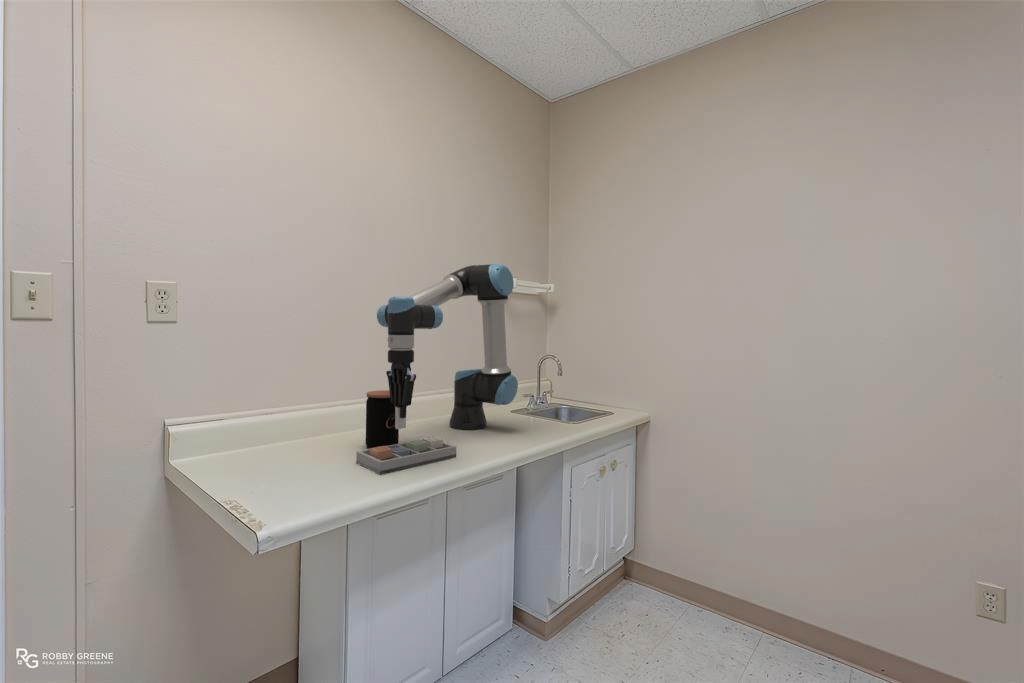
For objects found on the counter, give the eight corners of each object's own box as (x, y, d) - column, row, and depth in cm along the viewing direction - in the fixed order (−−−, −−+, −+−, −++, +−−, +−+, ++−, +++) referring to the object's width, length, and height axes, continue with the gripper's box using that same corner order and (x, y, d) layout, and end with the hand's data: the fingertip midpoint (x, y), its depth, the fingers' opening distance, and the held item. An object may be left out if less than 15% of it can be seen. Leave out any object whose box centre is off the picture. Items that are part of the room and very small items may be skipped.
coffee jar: (389, 451, 147) (390, 395, 147) (359, 448, 149) (360, 393, 149) (403, 443, 158) (404, 391, 157) (375, 440, 160) (376, 389, 159)
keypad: (430, 447, 153) (430, 437, 153) (456, 457, 143) (456, 446, 143) (356, 462, 134) (356, 451, 134) (380, 474, 125) (380, 462, 124)
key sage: (418, 446, 144) (418, 438, 144) (427, 450, 141) (427, 441, 141) (405, 449, 141) (405, 441, 141) (414, 452, 137) (414, 444, 137)
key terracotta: (384, 453, 136) (384, 445, 135) (392, 457, 132) (392, 448, 132) (369, 456, 132) (369, 447, 132) (377, 460, 129) (377, 451, 129)
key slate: (401, 454, 140) (401, 446, 140) (410, 457, 137) (410, 449, 136) (388, 457, 137) (388, 448, 136) (396, 460, 133) (396, 451, 133)
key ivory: (434, 443, 148) (434, 436, 148) (442, 446, 145) (443, 438, 145) (422, 446, 145) (422, 438, 145) (430, 449, 142) (430, 441, 142)
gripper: (378, 348, 137) (378, 426, 139) (401, 351, 128) (401, 434, 129) (400, 347, 143) (400, 422, 144) (424, 350, 133) (423, 430, 135)
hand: (400, 428), depth 137 cm, fingers closed
